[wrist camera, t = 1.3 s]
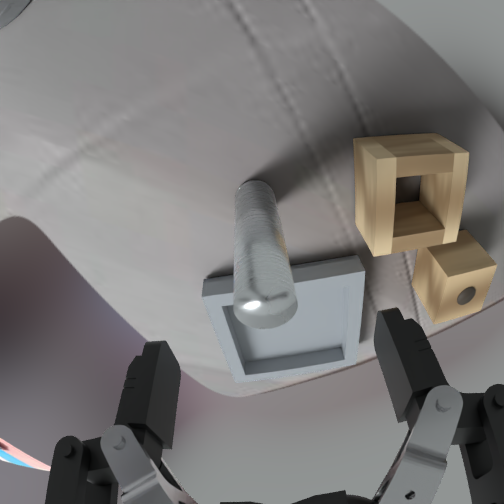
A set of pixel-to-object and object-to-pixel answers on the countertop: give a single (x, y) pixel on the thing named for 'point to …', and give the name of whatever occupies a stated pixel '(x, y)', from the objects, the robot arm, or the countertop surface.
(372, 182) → the oak block
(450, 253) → the block
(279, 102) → the countertop surface
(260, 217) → the cylinder
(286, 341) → the tray
